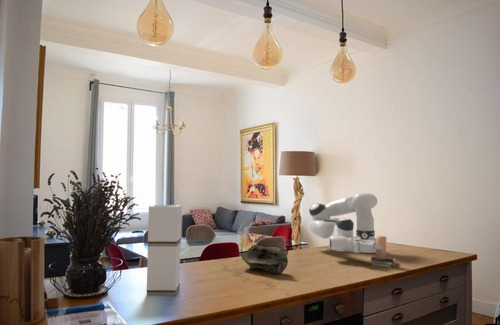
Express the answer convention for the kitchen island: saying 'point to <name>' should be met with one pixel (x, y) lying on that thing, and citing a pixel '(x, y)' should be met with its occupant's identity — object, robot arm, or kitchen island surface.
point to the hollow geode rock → (266, 258)
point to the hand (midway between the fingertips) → (382, 246)
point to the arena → (383, 262)
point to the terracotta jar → (382, 252)
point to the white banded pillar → (164, 250)
